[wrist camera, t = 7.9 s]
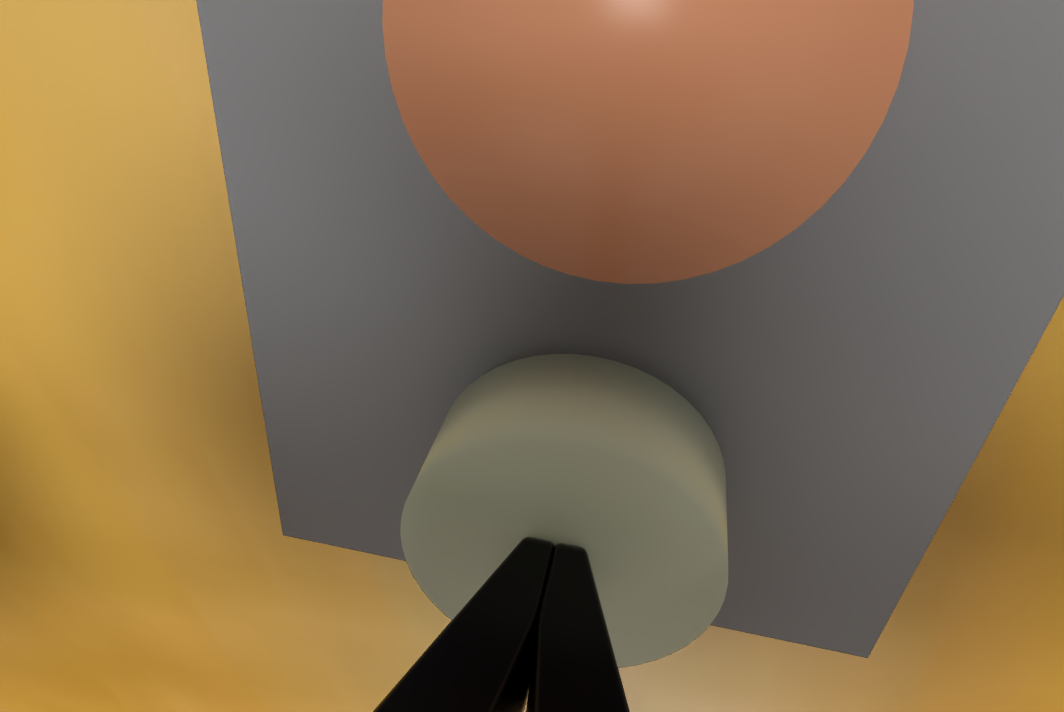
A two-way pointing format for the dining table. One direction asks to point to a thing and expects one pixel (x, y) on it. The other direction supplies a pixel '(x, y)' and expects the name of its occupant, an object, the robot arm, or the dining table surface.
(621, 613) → the button sage
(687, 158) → the button terracotta
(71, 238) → the dining table surface
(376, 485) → the button panel
